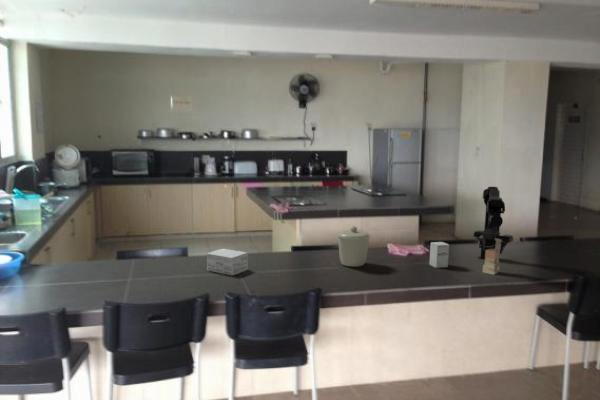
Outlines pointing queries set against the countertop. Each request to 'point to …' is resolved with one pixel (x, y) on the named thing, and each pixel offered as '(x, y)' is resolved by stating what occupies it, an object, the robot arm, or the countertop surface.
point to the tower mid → (491, 262)
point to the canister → (353, 247)
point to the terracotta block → (492, 254)
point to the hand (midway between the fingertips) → (491, 252)
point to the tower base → (490, 269)
